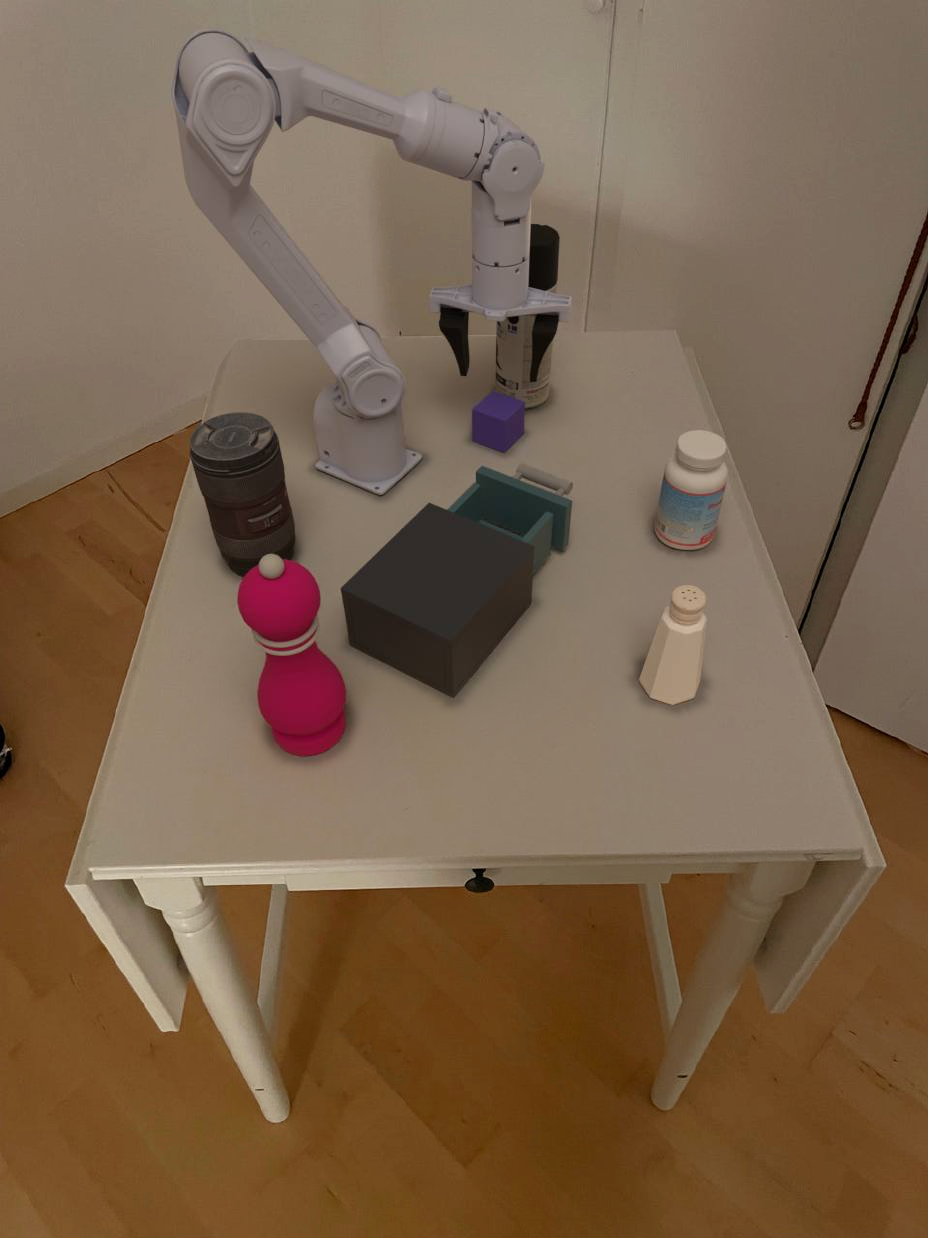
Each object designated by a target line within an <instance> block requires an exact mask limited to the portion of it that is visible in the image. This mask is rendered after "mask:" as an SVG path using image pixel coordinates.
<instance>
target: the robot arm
mask: <svg viewBox="0 0 928 1238" xmlns="http://www.w3.org/2000/svg"><path fill="white" fill-rule="evenodd" d="M244 40H245V42H246V43H247V44H248V46H249V47H250V49H251V50H252V51H251V52H249V50H248V48H246V46H245V44H244V43H243V42H242V41H241V40H240V39H239V38H238V37H237V36H236V35H233V34H232V33H230V32H228V31H226V30H224V29H222V28H221V29H220V28H217V27H216V28H215V27H214V28H213V27H207V28H203V29H199V30H197V31H195V32H194V33H192V34H191V35H190V36H188V37H187V38H186V39H185V40H184V42H183V43H182V44H181V46H180V48H179V51H178V53H177V56H176V61H175V67H174V73H173V77H172V82H171V89H170V93H171V98H172V105H173V108H174V113H175V119H176V124H177V134H178V139H179V146H180V147H179V148H180V152H181V153H180V154H181V160H182V167H183V174H184V180H185V184H186V186H187V189H188V192H189V194H190V197H191V198H192V200H193V202H194V204H195V205H196V206H197V208H198V209H199V210H200V212H202V214H203V215H204V216H205V217H206V218H207V220H208V221H209V222H210V223H211V224H212V225H213V227H214V228H215V229H216V231H218V233H220V234H219V235H221V236H222V238H223V239H224V240H225V241H226V243H228V245H229V246H230V247H231V248H232V250H233V251H234V252H235V253H236V255H238V257H239V258H240V259H241V260H242V261H243V262H244V264H245V265H246V266H247V267H248V269H250V271H251V273H253V275H255V277H256V278H257V279H258V281H259V282H260V283H261V284H262V285H263V286H264V287H265V289H266V290H267V292H269V294H270V295H271V296H272V297H273V298H274V300H276V302H277V303H278V304H279V306H280V307H282V309H283V310H284V311H285V312H286V314H287V315H288V316H289V317H290V318H291V320H292V321H293V322H294V324H296V325H297V327H298V328H299V330H301V332H302V333H303V334H304V335H305V336H306V338H308V340H309V341H310V342H311V344H313V346H314V348H316V350H317V351H318V353H319V354H320V356H321V357H322V359H323V360H324V362H325V364H326V365H327V366H328V369H329V370H330V371H331V373H332V374H333V376H334V377H335V379H336V381H334V382H331V383H329V384H327V385H326V386H324V388H323V389H322V390H321V391H320V393H319V394H318V396H317V398H316V399H315V403H314V406H313V412H312V413H313V414H312V417H313V418H312V419H313V427H314V432H315V438H316V439H315V440H316V443H317V444H316V445H317V450H318V451H317V452H318V457H319V461H317V462H316V463H315V468H316V470H318V471H321V472H323V473H326V474H328V475H331V476H333V477H336V478H338V479H340V480H343V481H345V482H348V483H349V484H352V485H354V486H357V487H359V488H361V489H363V490H366V491H369V492H371V493H374V494H376V495H378V496H384V495H385V494H386V493H387V492H388V491H389V490H390V489H391V488H393V487H394V486H395V485H396V484H397V483H398V482H399V481H400V480H401V479H402V478H404V476H405V475H407V474H408V473H409V472H410V471H412V470H413V468H414V467H416V466H417V465H418V464H419V463H420V462H421V461H422V460H423V455H422V454H421V453H419V452H416V451H414V450H411V449H408V448H406V443H405V440H406V439H405V429H404V418H403V417H404V416H403V405H402V403H403V399H404V398H405V394H406V390H407V389H406V388H407V385H406V384H407V383H406V378H405V376H404V374H403V372H402V371H401V370H400V368H398V366H397V365H396V363H395V361H394V360H393V359H392V356H391V355H390V353H389V352H388V349H386V347H385V345H384V343H383V341H382V338H381V335H380V333H379V331H378V330H377V329H376V328H375V327H374V326H373V325H372V324H370V323H368V322H366V321H363V320H362V319H359V318H357V317H356V316H355V315H354V314H353V312H352V311H351V310H350V309H349V307H348V306H346V305H345V304H343V303H342V301H341V300H340V299H339V297H338V296H337V295H336V293H335V292H334V291H333V289H332V288H331V287H330V286H329V284H328V283H327V281H326V280H325V279H324V278H323V277H322V275H321V274H320V273H319V272H318V270H317V269H316V268H315V266H314V265H313V264H312V263H311V261H310V260H309V258H308V257H307V256H306V254H305V253H304V252H303V251H302V250H301V248H300V247H299V245H298V244H297V242H296V241H294V239H293V237H292V236H291V235H290V234H289V232H288V231H287V230H286V229H285V227H284V226H283V224H281V222H280V221H279V219H278V218H277V217H276V215H275V214H274V213H273V212H272V210H271V209H270V208H269V206H268V205H267V204H266V202H265V201H264V200H263V199H262V197H261V196H260V194H258V192H257V191H256V190H255V188H254V187H253V186H252V185H251V180H252V176H253V175H252V174H253V169H254V164H255V160H256V158H257V156H258V155H259V153H260V151H261V149H263V146H264V144H265V142H266V141H267V140H268V138H269V136H270V133H271V131H272V129H273V126H274V124H275V123H276V125H277V126H278V128H279V129H280V131H281V132H282V133H283V132H287V131H289V130H290V129H292V128H293V127H294V126H296V125H297V124H299V123H300V122H301V121H303V120H304V119H306V118H308V117H314V118H317V119H321V120H324V121H328V122H331V123H335V124H338V125H341V126H345V127H348V128H350V129H351V128H352V129H355V130H358V131H361V132H364V133H368V134H372V135H375V136H379V137H382V138H385V139H389V140H391V141H392V142H393V145H394V147H395V150H396V152H397V154H398V156H399V158H400V159H401V160H403V161H405V162H408V163H411V164H413V165H417V166H420V167H423V168H426V169H428V170H432V171H435V172H437V173H440V174H444V175H447V176H450V177H452V178H454V179H458V180H461V181H465V182H471V208H470V210H471V211H470V212H471V215H470V216H471V283H470V284H461V285H460V284H459V285H451V286H432V287H431V290H430V292H429V295H428V299H429V313H431V314H439V320H438V327H439V330H440V332H441V333H442V334H443V336H444V337H445V339H446V341H447V342H448V344H449V346H450V348H451V351H452V353H453V355H454V357H455V358H454V359H455V361H456V363H457V367H458V370H459V371H458V372H459V376H460V377H467V376H468V373H469V369H470V364H471V363H470V361H471V360H470V359H471V356H470V345H469V321H470V320H469V319H470V317H469V316H470V313H474V314H478V315H482V316H484V320H486V321H488V322H497V321H504V320H505V319H506V317H512V316H531V317H535V321H534V324H533V329H532V362H531V370H530V382H536V381H537V376H538V370H539V366H540V363H541V361H542V358H543V356H544V354H545V352H546V350H547V348H548V347H549V345H550V343H551V342H552V340H553V341H554V338H555V336H556V335H557V332H558V327H559V323H570V317H571V311H572V310H571V309H572V299H573V297H572V295H566V294H558V293H556V294H554V293H550V292H546V291H542V290H539V289H535V288H531V287H528V282H529V254H530V228H531V224H532V223H531V220H532V196H533V193H534V191H535V189H537V188H538V186H539V184H540V183H541V180H542V177H543V175H544V172H545V171H544V170H545V162H542V160H541V153H540V149H539V147H538V145H537V144H536V142H535V140H534V139H533V138H532V137H531V136H530V135H529V134H527V133H526V132H525V131H524V130H523V129H522V128H521V127H519V126H518V125H517V124H516V123H515V122H514V121H513V120H512V119H510V118H509V117H507V116H505V115H503V114H502V113H501V112H500V111H499V110H495V109H492V108H489V107H487V106H485V107H484V108H483V110H482V111H480V110H477V109H475V108H472V107H470V106H468V105H465V104H462V103H460V102H457V101H455V100H452V99H453V94H452V93H451V92H449V90H448V89H447V88H444V87H441V86H440V85H434V86H433V89H432V91H429V90H426V89H424V88H417V89H415V90H412V91H411V92H409V93H407V94H405V95H404V96H401V97H399V96H396V95H394V94H391V93H389V92H387V91H384V90H382V89H379V88H377V87H376V86H373V85H370V84H368V83H366V82H363V81H361V80H359V79H356V78H354V77H352V76H349V75H347V74H345V73H343V72H340V71H337V70H335V69H332V68H330V67H328V66H326V65H324V64H322V63H319V62H317V61H314V60H312V59H309V58H307V57H305V56H303V55H300V54H298V53H296V52H292V51H290V50H287V49H285V48H282V47H279V46H276V45H275V44H271V43H269V42H267V41H263V40H260V39H256V38H251V37H247V36H245V37H244Z"/></svg>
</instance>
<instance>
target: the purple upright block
mask: <svg viewBox="0 0 928 1238" xmlns="http://www.w3.org/2000/svg"><path fill="white" fill-rule="evenodd" d="M525 413H526V410H525V402H524V401H521V400H518V399H515V398H512V397H509V396H506V395H503V394H500V393H498V392H496V391H495V390H491V391H490V392H489V393H488V394H487V395H486V396H485V397H484V398H483V399H481V400H480V401H479V402H478V403H477V404H476V405H475V406H474V407H473V408H472V409H471V429H472V430H471V431H472V433H471V435H472V439H471V440H472V442H474V443H477V444H479V445H481V446H485V447H487V448H490V449H493V450H495V451H498V452H501V453H503V454H505V453H506V452H507V451H508V450H509V449H510V448H512V446H514V444H515V443H516V442H517V441H518V440H520V438H522V436H523V435H524V434H525V418H526V417H525V416H526V415H525Z"/></svg>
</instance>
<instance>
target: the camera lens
mask: <svg viewBox="0 0 928 1238" xmlns="http://www.w3.org/2000/svg"><path fill="white" fill-rule="evenodd" d="M189 457H190V461H191V464H192V467H193V471H194V475H195V478H196V482H197V485H198V488H199V490H200V493H201V496H202V497H203V500H204V503H205V506H206V507H205V508H206V510H207V514H208V518H209V523H210V527H211V531H212V534H213V537H214V540H215V543H216V545H217V547H218V550H219V552H220V555H221V557H222V559H223V560H224V561H225V562H226V563H227V565H228V567H229V569H230V570H231V571H232V572H234V573H235V574H236V575H237V576H239V577H242V578H244V576H245V575H246V574H247V573H248V572H249V571H250V570H251V569H252V568H253V567H255V566H257V565H258V564H259V562H260V560H261V559H262V558H263V557H264V556H265V555H267V554H275V555H278V556H279V557H280V558H281V559H287V560H290V561H293V557H294V554H295V553H294V552H295V551H294V550H295V549H294V548H295V545H296V527H295V526H296V525H295V519H294V516H293V515H294V514H293V510H292V506H291V503H290V499H289V494H288V488H287V484H286V474H285V473H286V472H285V464H284V460H283V455H282V449H281V445H280V440H279V436H278V434H277V432H276V431H275V429H274V426H273V423H272V422H271V421H270V420H268V418H266V417H264V416H262V415H259V414H256V413H253V412H246V411H245V412H242V411H239V412H238V411H237V412H229V413H224V414H219V415H217V416H214V417H211V418H209V419H207V420H205V421H204V422H202V423H201V424H199V425H198V426H197V427H196V428H195V429H194V430H193V432H192V433H191V435H190V438H189Z"/></svg>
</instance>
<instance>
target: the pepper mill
mask: <svg viewBox="0 0 928 1238" xmlns="http://www.w3.org/2000/svg"><path fill="white" fill-rule="evenodd" d="M236 599H237V600H236V602H237V607H238V612H239V614H240V616H241V619H242V620H243V622H244V623H245V624H246V626H247V627H249V628H250V629H251V632H252V634H253V640H254V643H255V645H256V646H257V647H258V648H259V649H260V650H261V651H263V652H264V654H265V662H264V665H263V668H262V670H261V673H260V675H259V678H258V685H257V691H256V692H257V702H258V709H259V712H260V715H261V716H262V718H263V719H264V721H265V722H266V723H267V724H268V725H269V726H270V728H271V732H272V736H273V738H274V740H275V742H276V744H277V745H278V746H279V747H280V748H281V749H283V750H284V752H287V753H289V754H292V755H294V756H295V755H296V756H300V757H301V756H303V757H308V756H316V755H318V754H322V753H324V752H326V751H327V750H329V749H331V748H333V747H334V746H335V745H336V744H338V742H339V741H340V739H341V738H342V736H343V735H344V733H345V730H346V724H347V719H346V713H345V705H346V702H347V687H346V684H345V681H344V678H343V675H342V673H341V672H340V669H339V668H338V667H337V665H336V664H335V662H333V660H331V658H330V657H329V656H327V654H325V653H324V652H323V651H322V650H321V649H320V648H319V647H318V644H317V639H318V637H319V634H320V630H321V625H320V621H319V615H318V613H319V610H320V607H321V601H322V600H321V591H320V587H319V584H318V582H317V580H316V578H315V576H314V575H313V574H312V572H310V570H309V569H308V568H307V567H305V566H304V565H302V564H301V563H299V562H296V561H294V560H291V561H290V560H287V559H281V558H280V557H279V556H278V555H275V554H267V555H265V556H264V557H263V558H262V559H261V560H260V562H259V564H258V565H257V566H255V567H253V568H252V569H251V570H250V571H249V572H248V573H247V574H246V575H245V576H244V577H242V579H241V581H240V583H239V586H238V590H237V598H236Z"/></svg>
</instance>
